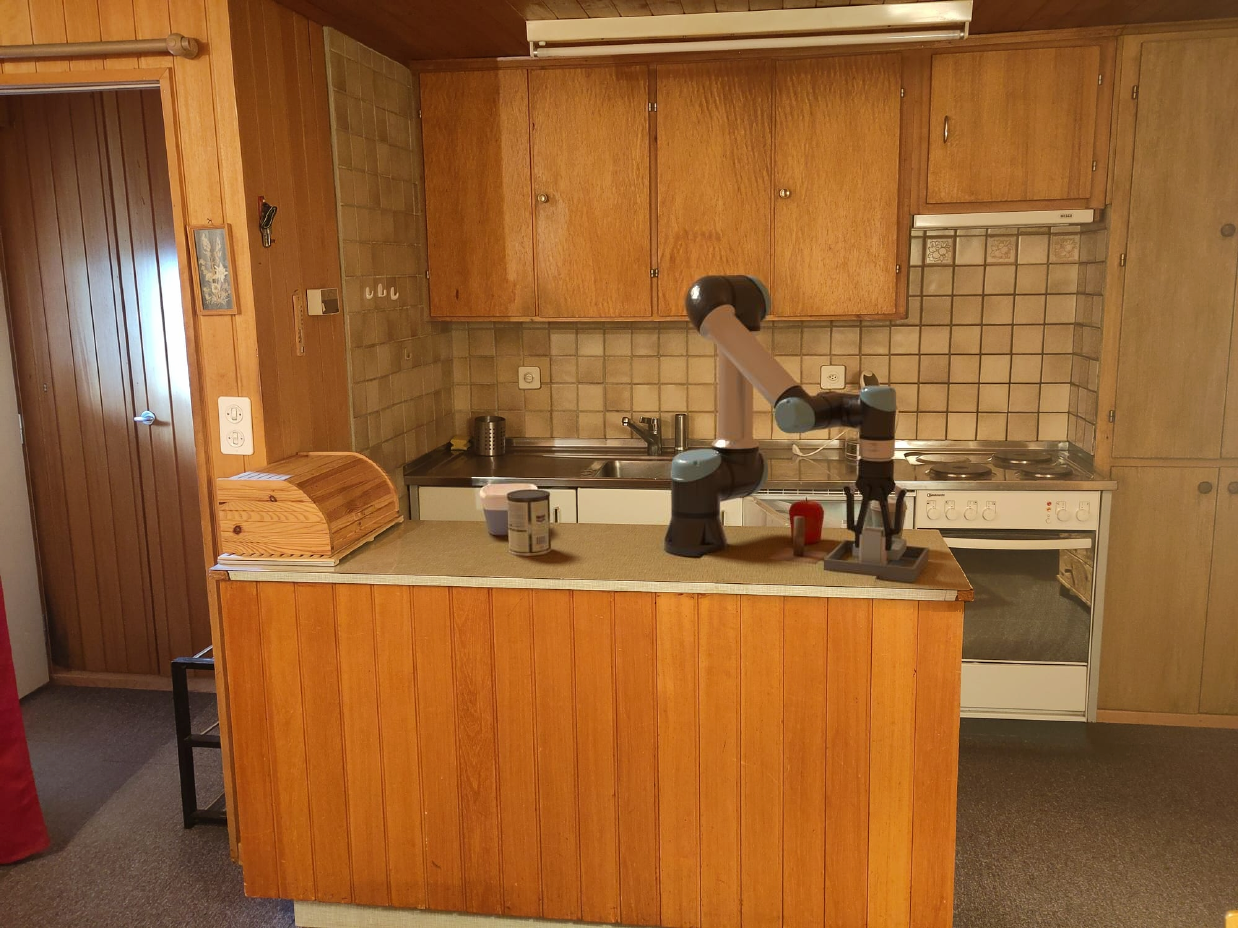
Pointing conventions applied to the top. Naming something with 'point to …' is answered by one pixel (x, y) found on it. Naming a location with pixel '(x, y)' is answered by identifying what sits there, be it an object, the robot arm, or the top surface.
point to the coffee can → (529, 522)
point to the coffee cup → (892, 505)
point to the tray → (893, 570)
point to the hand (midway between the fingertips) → (872, 563)
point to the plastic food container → (499, 505)
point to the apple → (808, 519)
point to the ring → (878, 546)
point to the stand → (798, 547)
